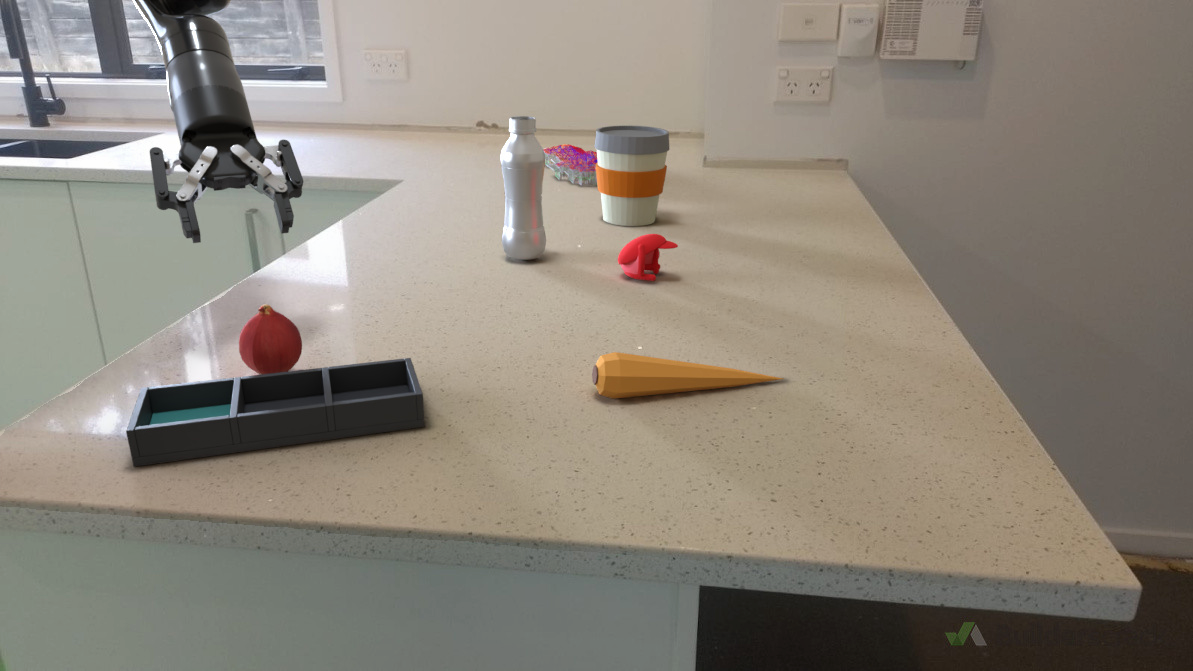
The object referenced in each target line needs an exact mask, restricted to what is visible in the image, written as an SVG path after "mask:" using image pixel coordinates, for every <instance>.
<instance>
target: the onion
mask: <svg viewBox="0 0 1193 671" xmlns="http://www.w3.org/2000/svg"><path fill="white" fill-rule="evenodd" d="M302 350H303V341H302V335H301V333H300V330H299V329H298V327H297V326H296V324H295V323H294V322H293V321H292V320H291V319H290V318H288V317H287V316H285V315H284V314H283V313H280V312H279V311H276V310H274V309H273V307H272V306H271V305H269V304H266V303H265V304H262V305H261V306H259V308H258V313H256V314H255V315H253V316H251V318H249V319H248V320H247V321H246V323H245V324H244V325H243V327H242V329H241V331H240V333H239V336H238V352H239V356H240V358H241V360H242V362H243V363H244V364H245V366H247V367H248V368H249V369H251V370H252V371H254V372H255V373H257V374H258V375H261V374H270V373H279V372H288V371H291V370H292V369H293V368H294V366H296V364H297V363H298V362H299V360H300V358H301V356H302Z"/></svg>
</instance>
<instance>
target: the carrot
mask: <svg viewBox="0 0 1193 671" xmlns="http://www.w3.org/2000/svg"><path fill="white" fill-rule="evenodd" d="M591 378H592V379H591V381H592V383H593V385H595V388H596V390H597V392H598V394H599V395H600V396H603V397H606V398H610V399H612V400H613V399H624V398H634V397H635V398H637V397H644V396H655V395H663V394H665V395H666V394H676V393H683V392H684V393H685V392H696V391H705V390H715V389H726V388H733V387H734V388H735V387H742V386H748V385H753V384H761V383H766V382H772V381H779V380H784V378H783V377H777V376H773V375H767V374H762V373H759V372H758V373H757V372H751V371H747V370H742V369H737V368H730V367H723V366H718V365H710V364H702V363H696V362H690V361H689V362H688V361H681V360H675V359H667V358H661V357H660V358H659V357H653V356H646V355H638V354H631V353H624V352H617V351H614V352H610V353H609V352H608V353H605V354H601V355H600V356H599V357H598V359H597V361H596V363H595V364H594V366H593V367H592V372H591Z"/></svg>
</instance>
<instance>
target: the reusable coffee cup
mask: <svg viewBox="0 0 1193 671" xmlns="http://www.w3.org/2000/svg"><path fill="white" fill-rule="evenodd" d="M594 149H595V150H596V152H597V160H598V162H597V163H596V175H597V183H596V186H597V191H598V192H599V193H600V200H601V211H602V219H603V221H604V222H606V223H608V224H610V225H615V226H621V227H643V226H648V225H651V224H654V223H655V222H656V217H657V212H658V205H659V202H660V195H661V194H663V191H664V185H665V180H666V175H667V171H668V170H667V169H668V166H667V164H666V162H667V157H668V156H667V155H668V152H669V151H670V133H669V131H668V130H667V129H664V128H661V127H655V126H645V125H609V126H602V127H598V128H596V132H595V139H594Z"/></svg>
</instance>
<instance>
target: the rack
mask: <svg viewBox="0 0 1193 671" xmlns="http://www.w3.org/2000/svg"><path fill="white" fill-rule="evenodd" d="M425 421H426V420H425V405H424V394H423V391H422V387H421V384H420V382H419V379H418V375H417V373H416V370H415V367H414V364H413V361H412V359H411V357H405V358H397V359H387V360H378V361H377V360H376V361H368V362H360V363H352V364H343V365H333V366H325V367H316V368H306V369H297V370H289V371H288V372H279V373H270V374H253V375H244V376H236V377H235V376H234V377H225V378H216V379H209V380H200V381H198V380H197V381H190V382H181V383H171V384H163V385H155V386H149V387H148V386H147V387H146V386H145V387H141V388H140V390H139V393H138V395H137V399H136V402H135V404H134V407H133V410H132V414H131V416H130V418H129V422H128V424H127V426H126V430H125V433H126V438H127V442H128V448H129V451H130V457H131V461H132V465H133V467H140V466H142V467H143V466H149V465H156V464H162V463H163V464H164V463H170V462H178V461H185V460H192V459H199V458H206V457H215V456H222V455H228V454H229V455H230V454H237V453H244V452H251V451H257V450H258V451H259V450H266V449H273V448H280V447H288V446H294V445H301V444H309V443H317V442H323V441H331V440H337V439H345V438H352V437H359V436H366V435H367V436H368V435H375V434H381V433H388V432H389V433H390V432H396V431H397V432H398V431H405V430H410V429H411V430H412V429H418V428H424V427H426V422H425Z"/></svg>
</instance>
